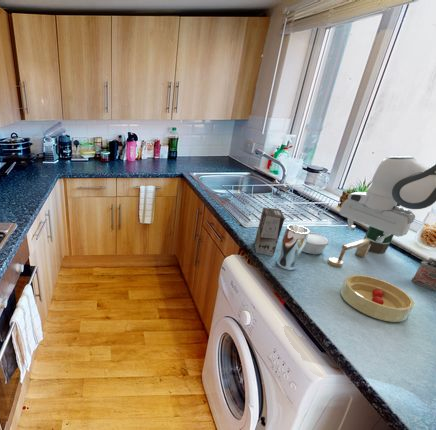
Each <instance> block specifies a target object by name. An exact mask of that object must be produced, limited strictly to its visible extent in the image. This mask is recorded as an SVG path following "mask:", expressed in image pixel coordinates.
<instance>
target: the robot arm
mask: <svg viewBox="0 0 436 430" xmlns="http://www.w3.org/2000/svg"><path fill="white" fill-rule="evenodd" d="M397 203H398V204H399V205H400V206H399V207H397V206H396V205H397ZM435 203H436V163H434V164H433V165H431V166H430V167H427V166H425V165H424V164H423V163H421V162H420V161H419V160H418V159H417V158H416V157H414V156H411V155H392V156H388V157H385V158H384V159H382V161H380V163H379V165H378V167H377V168H376V170H375V172H374V174H373V176H372V181H371V185H370V186H369V187H368V188H367V191H356V192H351V193H348V195H347V199H345V200H344V201H343V202H342V204H341V206H340V207H339V211H338V213H339V215H340V216H342V217H345V218H347V220H346V221H347V224H348V227H347V230H348V231H351V232H354V231H355V228H356V225H354V222H358V223H360V224H363V225H366V226H368V227H369V226H371V227H374V228H376V229H379V230H381V231H384V233H383V234H384V236H378V237H377V239H376V241H377V242H380V243H381V242H383V241H384V239H385V238H386V237H388V236H390V235H391V234H392V235H394V237H397V238H398V237H403V236H406V235H407V234H408V232H409V230H410V227H411V224H413V222H414V221H415V219H416V215H415V214H414V213H413V211H412V210H423V209H426V208H429V207H431V206H432V205H433V204H435ZM402 207H403V208H402ZM409 209H410V210H409Z"/></svg>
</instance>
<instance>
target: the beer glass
mask: <svg viewBox="0 0 436 430" xmlns="http://www.w3.org/2000/svg"><path fill="white" fill-rule="evenodd" d="M309 232H310V230H309V229H308V228H307V227H304V226H302V225H299V224H288V225H287V226H286V227H285V231H284V234H283V237H282V241H281V249H280V255H279V257H278V259H277V261H276V265H277V266H278V267H280V268H281V269H283V270H287V271H294V270H296V268H297V262H298V259H299V257H300V255H301V254H302V252H303V251H302V250H303V249H304V247H305V244H306V242H307V238H308V234H309Z"/></svg>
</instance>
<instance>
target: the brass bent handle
mask: <svg viewBox="0 0 436 430" xmlns="http://www.w3.org/2000/svg"><path fill="white" fill-rule="evenodd" d="M369 243H370V240H369V239H364V238H363V239H359V240H356V241H353V242H350V243H349V242H348V243H345V244H343V245H342V248H341V251H340V254H339V256H338V258H337V257H333V256H331V257H330V256H329V258H328V259H327V264H329V265H330V266H333V267H335V268H342V267H343V264H344V261H343V258H344V255H345V253H346V251H350V250H352V249H355V252H354V255H357V256H359V257H360V258H366V257H367V255H368V253H369V251H368V250H369V248H370V246H371V244H369Z"/></svg>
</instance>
